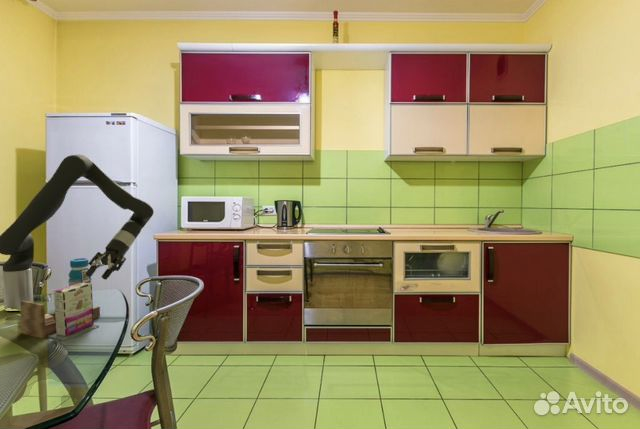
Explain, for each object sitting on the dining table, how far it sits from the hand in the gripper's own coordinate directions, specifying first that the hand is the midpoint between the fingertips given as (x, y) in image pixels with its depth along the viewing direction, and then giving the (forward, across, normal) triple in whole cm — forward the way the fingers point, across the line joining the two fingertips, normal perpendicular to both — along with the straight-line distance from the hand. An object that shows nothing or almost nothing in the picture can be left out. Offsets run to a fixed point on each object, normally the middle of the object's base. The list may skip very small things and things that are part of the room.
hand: (95, 277), depth 133 cm
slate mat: (+19, 0, +7) cm, 20 cm away
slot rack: (+17, -10, +9) cm, 22 cm away
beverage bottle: (+4, -27, +22) cm, 35 cm away
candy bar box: (+19, 0, +7) cm, 20 cm away
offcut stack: (+22, -10, +4) cm, 24 cm away
